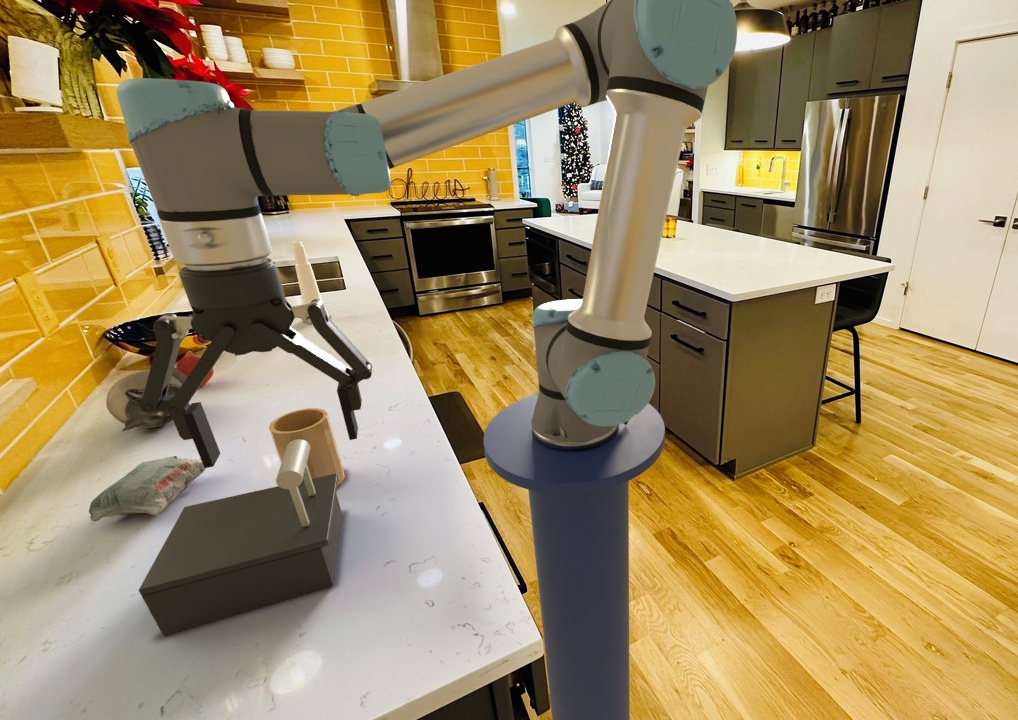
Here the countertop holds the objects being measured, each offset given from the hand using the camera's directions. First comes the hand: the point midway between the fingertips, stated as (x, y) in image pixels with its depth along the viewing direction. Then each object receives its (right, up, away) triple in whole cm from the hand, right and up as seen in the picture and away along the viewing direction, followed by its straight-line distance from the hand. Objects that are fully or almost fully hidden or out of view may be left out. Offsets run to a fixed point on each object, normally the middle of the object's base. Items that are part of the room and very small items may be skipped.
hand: (286, 446), depth 57 cm
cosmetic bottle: (-53, +22, +88) cm, 105 cm away
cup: (-9, -9, +19) cm, 22 cm away
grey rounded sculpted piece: (-47, -2, +35) cm, 59 cm away
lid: (-5, -10, +2) cm, 11 cm away
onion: (-52, +4, +48) cm, 71 cm away
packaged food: (-29, -10, +15) cm, 34 cm away
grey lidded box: (-5, -15, +4) cm, 17 cm away
